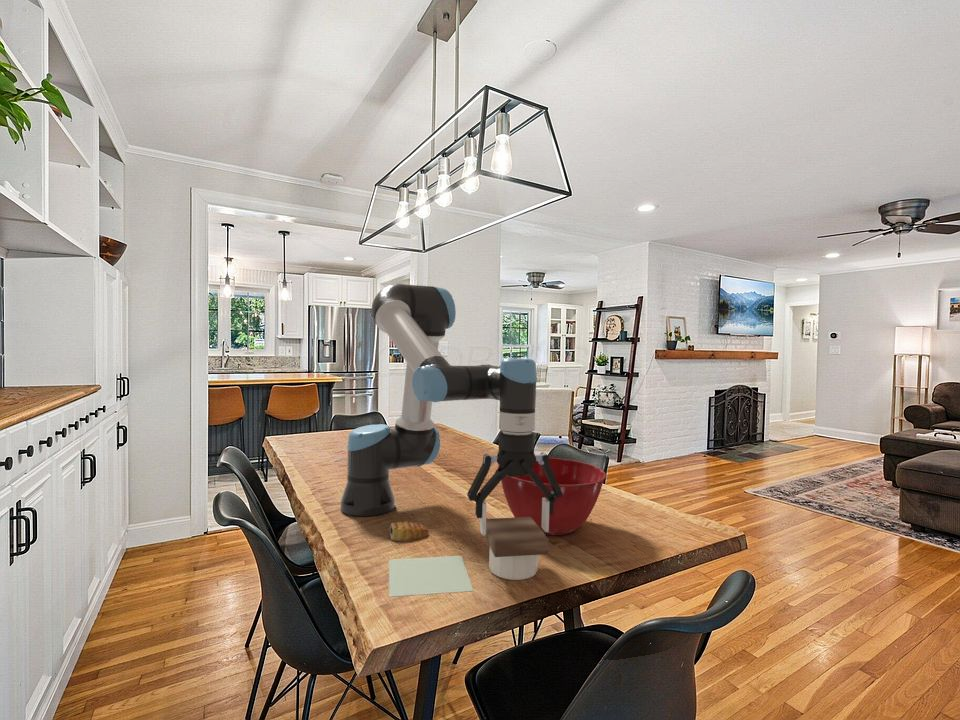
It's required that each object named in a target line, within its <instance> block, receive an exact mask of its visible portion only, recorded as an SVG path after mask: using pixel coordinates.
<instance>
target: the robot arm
mask: <svg viewBox="0 0 960 720" xmlns="http://www.w3.org/2000/svg"><path fill="white" fill-rule="evenodd" d="M371 304H372V305H371V316H372V319H373V321H374V323H375V325H376V327H377V328H378V329H379V330H380V331H381V332H383V333H385V334H387V335H388V337H389V339H390V340H391V342H392V343H393V345H394V347H396V349H397V350H398V351H399V353H400V355H401V357H402V358H403V359H404V360H405V363H406V367H405V368H406V369H405V378H404V387H403V389H404V390H403V397H402V398H403V399H402V407H401V415H400V417H398V418H397V419H396V420H395V426H394V428H390V426H389V425H387V424H384V423H383V424H381V423H379V424H369V425H363V426H359V427H357V428H354V429H353V430H350V432H349V434H348V439H347V440H348V441H347V446H346V449H347V480H346V481H347V482H346V485H345V488H344V491H343V493H342V497H341V500H340V511H341V512H342V513H344V514H346V515H349V516H353V517H354V516H356V517H371V516H372V517H373V516H379V515H384V514H386V513H389V512H391V511H392V510H394V509H395V497H394V493H393V490H392V487H391V484H390V480H389V479H390V477H389V476H390V475H389V474H390V470H394V469H395V470H396V469H404V468H411V467H412V468H413V467H421V466H425V465H429V464H432V463H433V462H434V461H435V460H436V459H437V457H438V455H439V453H440V448H441V439H440V437H441V435H440V432H439V430H438V429H437V428H436V426H435V422H434V421H433V420H432V419H431V415H432V406H433V403H440V402H452V401H470V400H471V401H473V400H475V401H476V400H493V401H494V400H495V401H497V400H498V401H499V419H498V429H499V430H500V432H499V433H498V451H497V452H498V453H497V455H489V453H484V454H483V455H482V456H483V457H482V464H481V466H480V468H479V470H478V472H477V474H476V476H475V477H474V479H473V481H472V484H471V486H470V488H469V489H468V492H466V493H467V494H466V496H467V497H468V498H467V499H468V500H469V501H471V502H475V512H474V514H475V516H476V518H477V519H479V532H480V534H481V535H482V536H484V535H486V519H487V502H486V501H485V500H486V499H487V498H488V497H489V495H490V494H491V493H492V492H493V491H494V490H495V488H496V487H497V486H498V485H499V483H500V482H501V480H502V479H504V477H505V476H506V475H508V476H509V477H514V476H524V475H526V474H528V475H529V476H530V477H531V478H532V480H533V481H534V482H535V483H536V485H537V486H538V487H539V488H540V490H541V491H542V492H543V493H544V494H545V496H546V498H542V525H541V527H542V529H543V530H544V531H545V532H549V515H553V509H554V502H555V500H556V498H558V497H559V498H561V497H562V496H563V494H562V491H561V489H560V487H559V485H558V483H557V481H556V478H555V476H554V474H553V472H552V470H551V467H550V465H549V458H550V457H549V455H547V454H546V453H545V452H541V453H540V454H535V433H533V432H534V431H535V429H536V403H537V402H536V397H537V380H538V378H537V364H536V361H535V360H534V359H531V358H516V357H515V358H507V357H506V358H503V359H501V362H500V366H498V365H491V364H478V365H451V364H450V363H449V362H448V360H446V358H445V357H444V356H443V355H442V354H441V352H440V351H439V345H440V344H439V342H440V341H441V340H442V339H443V338H444V337H445V336H446V330H447V329H450V328H451V327H453V325H454V324H455V320H456V313H457V311H456V305H455V300H454V299H453V296H452V294H451V293H450V291H449V290H447V289H446V288H443V287H438V286H431V285H418V284H417V285H415V284H404V283H396V284H395V283H394V284H391V285H388V286H387V285H386V286H385V287H384V288H382V289H381V290H379V292H378V293H377V294H376V295H375V297H374V298H373V301H372V303H371ZM536 461H538V463H539V464H540V465H541V466H542V468H543V470H544V472H545V475H546V477H547V479H548V481H549V483H550V485H551V488H552V490H553V491H552V492H550V491H549V490H548V488H547V487H546V486H545V485H544V483H543V482H542V481H541V480H540V478H539V477H538V476H537V475H536V473H535V472H534V471H533V470H532V466H533V465H534V463H535V462H536ZM495 463H496V464H497V465H499V468H498V467H497V469H495V472H494V473H493V475H492V476H491V477H490V478H489V479H488V480H487V482H486V483H485V484H484V485H483V483H484V481H485V479H486V477H487V475H488V473H489V471H490V468H491V467H492V466H494V464H495ZM482 486H483V487H482ZM480 488H481V489H480Z"/></svg>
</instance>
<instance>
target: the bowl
mask: <svg viewBox="0 0 960 720" xmlns="http://www.w3.org/2000/svg"><path fill="white" fill-rule="evenodd" d="M488 554H489V557H488V559H489V561H488V568H489V570H490V572H491V574H493V575H495V576H497V577H498V578H501V579H504V580H511V581H523V580H526V579H532V578H534V577H535V576H536V574H537V572H538V569H539V555H525V556H507V557H495V556H494V554H493V552H492V550H491V548H490V547H489V553H488ZM534 575H535V576H534ZM533 576H534V577H533ZM531 577H532V578H531Z"/></svg>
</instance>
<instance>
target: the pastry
mask: <svg viewBox="0 0 960 720" xmlns="http://www.w3.org/2000/svg"><path fill="white" fill-rule="evenodd" d="M389 533H390V534H389V536H390V539H391V541H395V542H403V541H405V542H407V541H413V540H418V539H422V538H425V537H427V536H429V531H428V527H427V526H426V525H424V524H421V523H420V524H418V523H416V522H413V521H412V522H409V521H407V520H405V521H403V522H402V521H397V522H391V523H390V527H389Z"/></svg>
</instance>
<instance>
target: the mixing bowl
mask: <svg viewBox="0 0 960 720" xmlns="http://www.w3.org/2000/svg"><path fill="white" fill-rule="evenodd" d="M549 465H550V467H551V470H552V472H553V474H554V476H555V478H556V481H557V483H558V485H559V487H560V489H561V491H562V494H563V496H562V497H561V498H559V497H558V498H556V500H555V502H554V509H553V515H549V532H545V531H544V530H543V529H542V527H541V525H542V498H546V496H545V494H544V493H543V492H542V491H541V490H540V488H539V487H538V486H537V485H536V483H535V482H534V481H533V480H532V478H531V477H530V476H529V475H528V474H526V475H524V476H514V477H509V476H508V475H506V476H505V477H504V479H502V480H501V481H500V482H501V486H502V489H503V494H504V496H505V499H506V502H507V505H508V507H509V509H510V511H511V513H512V515H513V518H518V517H531V518H532V519H533V520H534V522H535V523H536V524H537V525H538V527H539V528H540V529H541V530H542V532H543V533H544V534H545V535H546V536H562V535H568V534H570V533H572V532H573V531H576V530H577V529H580V527H582V526H583V525H584V524H585V522H586V521H587V520H588V518H589V517H590V515H591V513H592V511H593V510H594V507H595V506H596V502H597V501H598V499H599V496H600V493H601V490H602V487H603V484H604V480H605V479H606V477H607V474H606V472H605V471H604V470H603V469H602V468H599V467H598V466H596V465H593V464H589V463H587V462H584V461H583V462H581V461H578V460H574V459H566V458H565V459H564V458H559V457H549ZM498 468H499V464H497V469H498ZM532 470H533V471H534V472H535V473H536V475H537V476H538V477H539V478H540V480H541V481H542V482H543V483H544V485H545V486H546V487H547V488H548V490H549V491H550V492H552V491H553V490H552V488H551V485H550V483H549V481H548V479H547V477H546V475H545V472H544V470H543V468H542V466H541V465H540V464H539V463H538V461H536V462H535V463H534V465H533V466H532Z"/></svg>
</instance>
